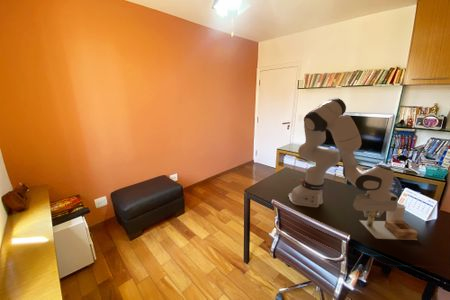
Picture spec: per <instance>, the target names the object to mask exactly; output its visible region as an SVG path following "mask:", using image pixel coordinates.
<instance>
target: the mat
mask: <svg viewBox="0 0 450 300" xmlns="http://www.w3.org/2000/svg"><path fill="white" fill-rule="evenodd" d="M359 222H360V223H361V224H362V225H363V226H364V227H365V228H366V229H367V230H368V231H369V233H370V234H371V235H372V236H373V237H374V238H375V239H381V240H399V239H398V238H396V237H395V236H394V235H393V234H392V233H391V232H390V231H389V230H388V229H386V228H385V227H384V225H385V222H386V220H374V222H373V226H372V227H369V226H367V225H366V223H367V220H361V219H359ZM403 240H408V241H409V240H410V241H412V240H413V241H418V239H417V238H416V239H403Z"/></svg>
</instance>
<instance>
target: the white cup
mask: <svg viewBox="0 0 450 300" xmlns="http://www.w3.org/2000/svg"><path fill="white" fill-rule="evenodd" d="M405 211H406V206H405V205H404V204H401V203H398V204H397V208H396V210H395V211H393V212H392V211H385V212H386V214H385V215H386V220H393V221H404V216H405ZM386 220H385V221H386Z"/></svg>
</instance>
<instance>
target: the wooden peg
mask: <svg viewBox="0 0 450 300" xmlns="http://www.w3.org/2000/svg"><path fill="white" fill-rule="evenodd" d="M376 213H377V211H368V214H369V216H368V217H367V220H366V221H367V223H366V225H367V226H369V227H372V226H373V222H374V221H375V217H376V216H375V215H376Z"/></svg>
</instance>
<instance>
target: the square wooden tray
mask: <svg viewBox="0 0 450 300" xmlns="http://www.w3.org/2000/svg"><path fill="white" fill-rule="evenodd" d="M385 221H386V222H385V225H384V227H385V228H386V229H388V230H389V231H390V232H391V233H392V234H393V235H394V236H395V237H396V238H398V239H397V240H404V239H417V237H418V235H419V232H418V231H417V230H416V229H414V228H413V227H412V226H410V225H409V224H408V223H407V222H406V221H405V220H402V221H393V220H385Z"/></svg>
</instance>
